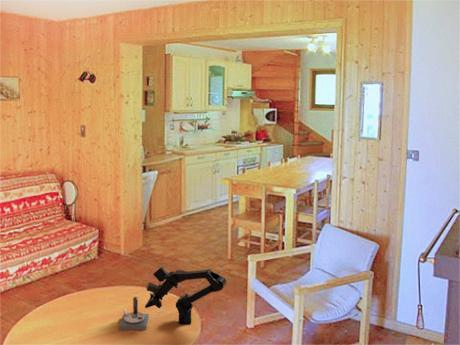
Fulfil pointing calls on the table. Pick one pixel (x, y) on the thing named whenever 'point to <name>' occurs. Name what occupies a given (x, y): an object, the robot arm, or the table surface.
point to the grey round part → (134, 314)
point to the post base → (129, 326)
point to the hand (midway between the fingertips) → (145, 307)
